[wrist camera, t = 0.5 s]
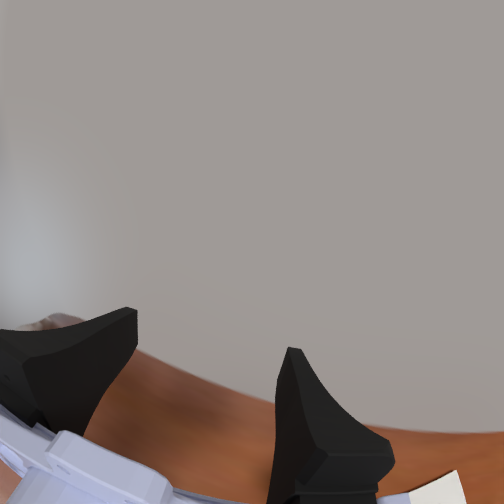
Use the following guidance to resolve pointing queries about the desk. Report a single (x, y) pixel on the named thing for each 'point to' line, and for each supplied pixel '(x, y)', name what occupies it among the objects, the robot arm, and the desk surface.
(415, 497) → the notepad
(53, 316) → the desk surface
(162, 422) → the desk surface
